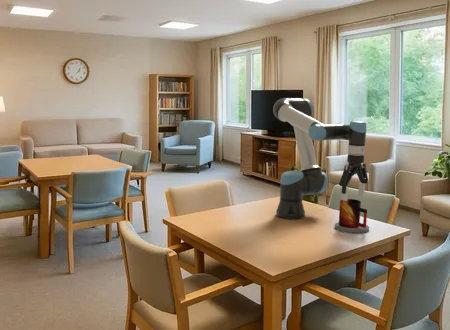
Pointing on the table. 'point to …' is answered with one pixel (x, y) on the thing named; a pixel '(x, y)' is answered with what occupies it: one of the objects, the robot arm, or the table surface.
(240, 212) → the table surface
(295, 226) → the table surface
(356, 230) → the plate
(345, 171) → the robot arm
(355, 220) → the mug
